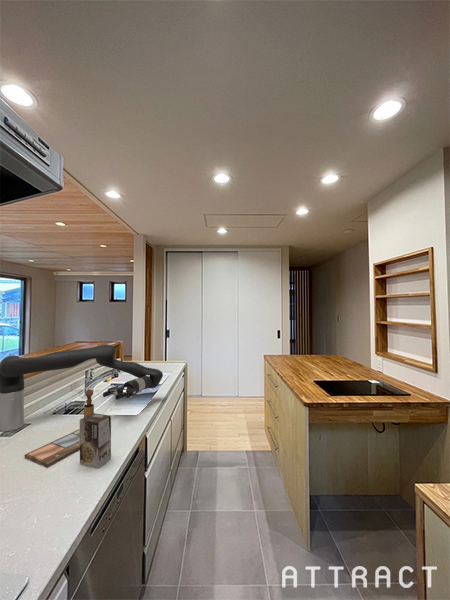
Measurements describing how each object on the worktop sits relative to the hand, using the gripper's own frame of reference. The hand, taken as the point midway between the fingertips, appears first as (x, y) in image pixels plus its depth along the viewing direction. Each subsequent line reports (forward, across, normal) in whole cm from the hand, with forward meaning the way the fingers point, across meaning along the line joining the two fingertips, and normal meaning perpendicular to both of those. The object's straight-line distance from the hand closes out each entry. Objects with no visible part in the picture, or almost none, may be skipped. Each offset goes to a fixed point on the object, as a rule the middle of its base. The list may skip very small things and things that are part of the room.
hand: (109, 396), depth 128 cm
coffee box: (+24, +20, +14) cm, 34 cm away
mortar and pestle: (+11, -1, +12) cm, 16 cm away
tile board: (+20, +1, +13) cm, 24 cm away
